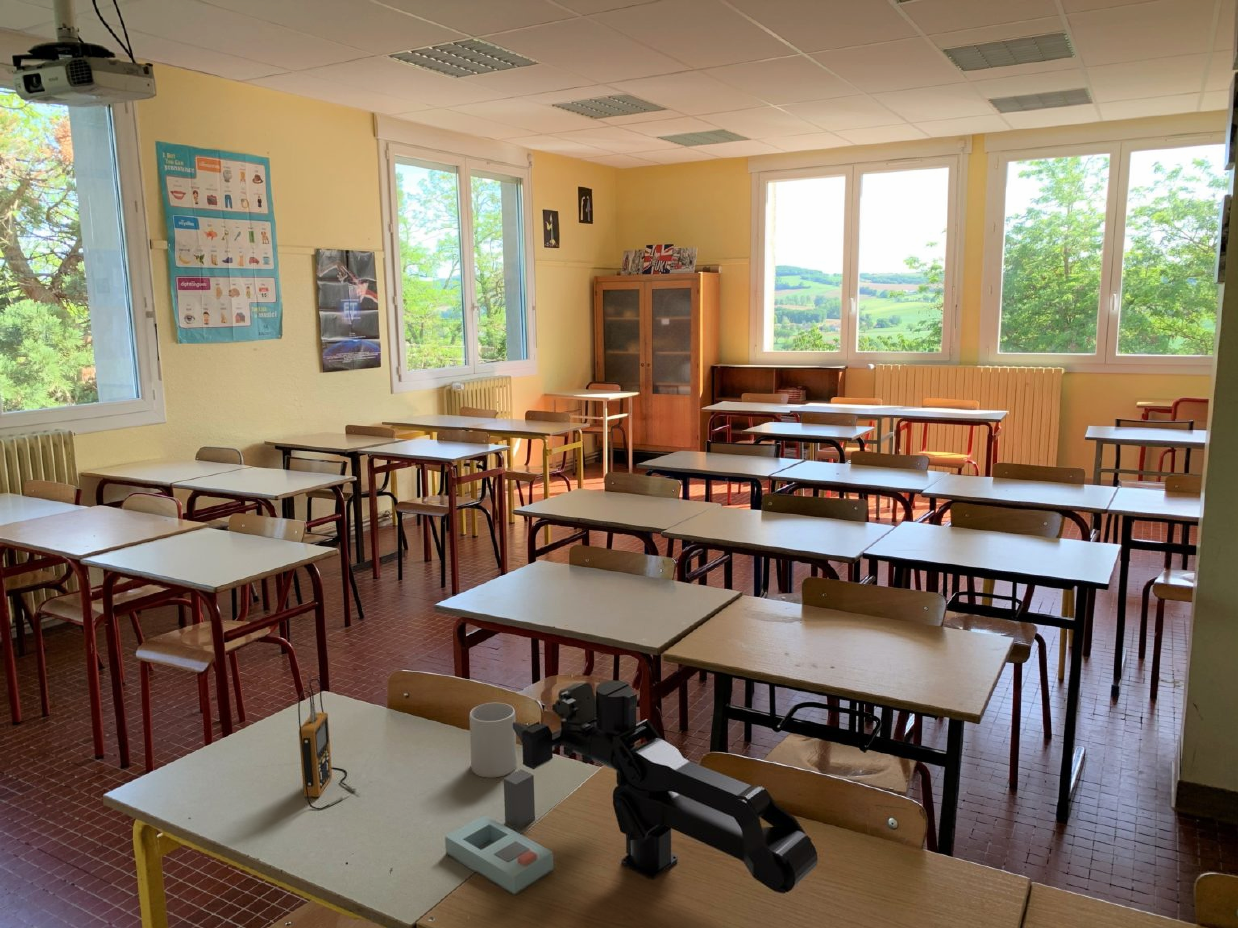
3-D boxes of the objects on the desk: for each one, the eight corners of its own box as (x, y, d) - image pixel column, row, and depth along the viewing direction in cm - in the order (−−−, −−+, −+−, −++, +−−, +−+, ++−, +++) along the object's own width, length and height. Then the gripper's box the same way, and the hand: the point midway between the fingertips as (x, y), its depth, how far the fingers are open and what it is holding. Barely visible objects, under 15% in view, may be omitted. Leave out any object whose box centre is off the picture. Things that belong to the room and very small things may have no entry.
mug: (504, 781, 166) (502, 724, 164) (462, 773, 169) (460, 718, 167) (532, 751, 177) (530, 698, 175) (493, 744, 180) (491, 692, 178)
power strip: (553, 869, 139) (552, 847, 139) (514, 895, 133) (513, 871, 133) (484, 831, 150) (484, 810, 149) (445, 853, 144) (444, 831, 143)
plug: (522, 812, 155) (521, 769, 154) (534, 818, 153) (533, 774, 152) (505, 822, 152) (503, 778, 151) (517, 829, 150) (515, 784, 149)
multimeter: (353, 810, 157) (345, 700, 153) (295, 810, 157) (287, 701, 153) (377, 767, 171) (371, 667, 168) (324, 767, 171) (317, 667, 168)
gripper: (638, 677, 150) (570, 654, 160) (558, 715, 136) (489, 688, 146) (639, 740, 152) (572, 714, 162) (560, 784, 138) (492, 752, 148)
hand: (533, 715), depth 155 cm, fingers open, 9 cm apart
